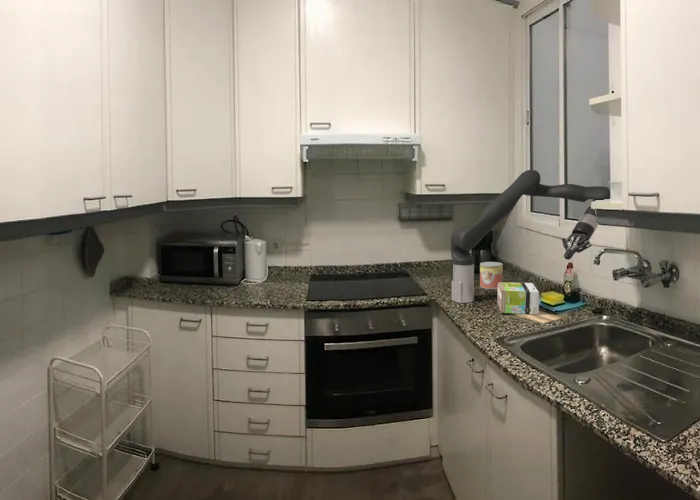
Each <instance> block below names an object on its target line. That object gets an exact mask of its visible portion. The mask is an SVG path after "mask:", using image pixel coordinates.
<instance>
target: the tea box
mask: <svg viewBox="0 0 700 500" xmlns="http://www.w3.org/2000/svg"><path fill="white" fill-rule="evenodd" d="M496 293H497V297H496V298H497V305H498V309H499V312H500V313H501V314H511V313H516V314H538V313H539V311H540V310H539V309H540V291H539V290H538V289H537V287H536V286H535V284H534V283H533V282H509V281H508V282H504V281H502V282H498V289H497V292H496Z"/></svg>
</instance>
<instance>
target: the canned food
mask: <svg viewBox="0 0 700 500" xmlns="http://www.w3.org/2000/svg"><path fill="white" fill-rule="evenodd" d="M503 265H504V264H503V263H502V262H497V261H484V262H480V263H479V287H480V288H481V289H487V290H498V282H503V267H504V266H503Z"/></svg>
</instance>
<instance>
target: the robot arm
mask: <svg viewBox="0 0 700 500" xmlns="http://www.w3.org/2000/svg"><path fill="white" fill-rule="evenodd" d="M609 188H610V187H608V186H600V185H599V186H595V185H594V186H592V185H591V186H584V185H579V184H574V183H573V184H572V183H563V184H557V185H556V184H555V185H546V184H542V183H541V175H540V172H539V171H538V170H535V169H528V170H525V171H524V172H522V173H521V174H520V175H519V176H518V177H517V178H516V179H515V180H514V181H513V183H511V184H510V186H508V188H506V189H504V191H502V193H500V194H499V195H498V196H497V197H496V198H494V199H493V200H492V201H491V202H490V203H489V204H488V205H487V206H485V208H484V210H483V211H482V213H481V215H480V218H479V219H478V220H477V222H475V223H474V224H473V225H472V226H470V227H469V228H457V229H455V230H454V231H452V234H451V235H450V252H451V259H452V265H453V267H452V280H451V301H453V302H456V303H460V304H463V303H466V304H467V303H468V304H469V303H473V302H474V301H475V258H474V256H473V255H472V254H471V252H470V250H472V249H473V248H474V249H475V247H476V246H477V245H478V244H479V243H480V242H481V241H482V239H483V238H484V237H485V236H486V235H488V233H489V232H490V231H491V230H492V229H494V228H495V227H496V226H497V225H498V224H499V223H500V222H501V221H503V220H504V219H505V218H506V217H507V216H509V214H510V213H512V211H513V209H514V208H515V207H516V205H517V203H518V202H519V201H520V199H521V198H522V196H528V197H542V198H557V199H558V198H559V199H564V200H569V201H574V202H580V203H585V202H587V201H588V200H592V202H593V201H595V200H604V199H609V198H610V190H609ZM598 226H599V224H598V225H597V224H596V214H595V210H593V209H591V207H590V205H589V206H588V207H587V208H586V210H585V211H584V213H583V214H582V216H581V217H580V218H579V219H578V221H577V223H576V224H575V226H574V227H573V229H572V230H571V231H572V232H571V234H570V235H569V236H568V237H567V238H565V237H562V238H561V243H562V246H563V248H564V249H565V252H564V254H563V257H564V259H565V260H568V261H569V260H571V259H572V258H573V256H574V255H575V254H576V253H579V254H580V253H582V252H583V251H585V250H587V249H589V248H591V247H592V243H591V242H590V239H591V238H592V237H593V235H594V233H595V231H596V230H597V228H598Z"/></svg>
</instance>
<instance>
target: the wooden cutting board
mask: <svg viewBox="0 0 700 500" xmlns="http://www.w3.org/2000/svg"><path fill="white" fill-rule="evenodd" d="M510 314H512V315H514V316H516V317H521V318H523V319H528V320H531V321H535V322H538V323H541V324H548V323H550V322H556V321H558V320H562V319H564V317H563V316H559V315H556V314H551V313H548V312H544V311H540V310H539V313H538V314H516V313H510Z"/></svg>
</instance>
